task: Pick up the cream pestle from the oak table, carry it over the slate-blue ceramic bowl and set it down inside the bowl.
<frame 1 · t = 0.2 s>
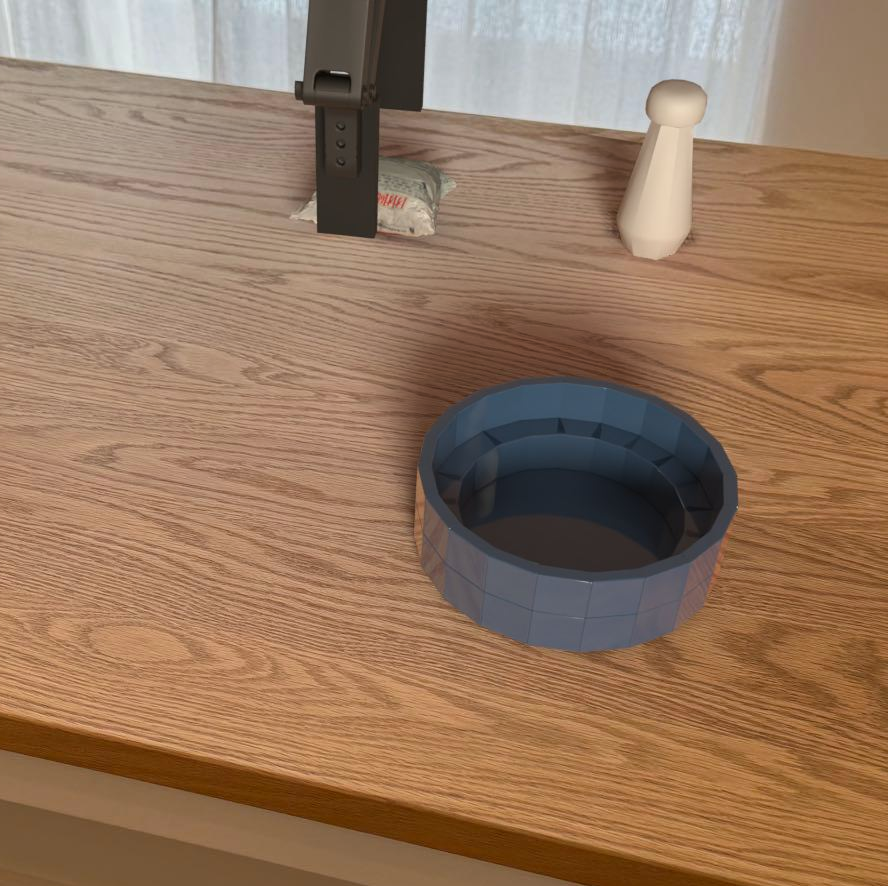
hand: (374, 165, 62), 22 cm above the table, tool pointing down, fingers open, 13 cm apart
bowl: (563, 546, 73), on the table
cream pestle: (648, 248, 99), on the table
packaged food: (374, 226, 101), on the table
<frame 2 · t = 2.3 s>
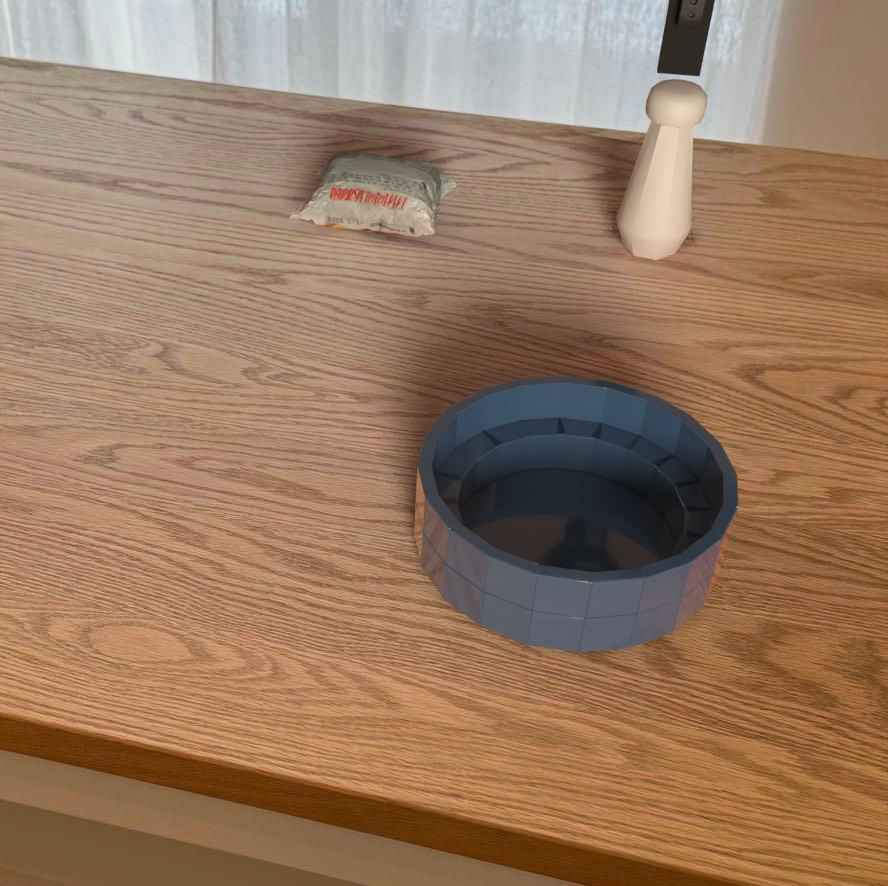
hand: (678, 32, 85), 18 cm above the table, tool pointing down, fingers open, 13 cm apart
nothing on the table moved.
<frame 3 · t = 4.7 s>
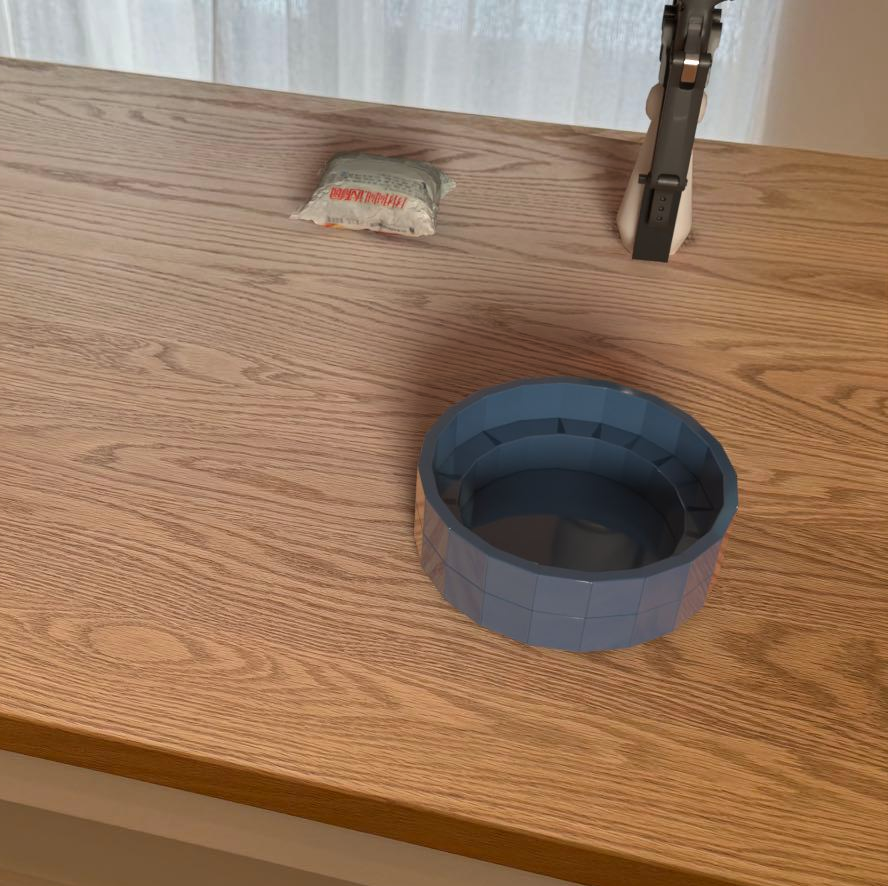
hand: (651, 236, 98), 1 cm above the table, tool pointing down, fingers closed on cream pestle, 6 cm apart
cream pestle: (648, 248, 99), on the table, touching gripper
everything else where it was.
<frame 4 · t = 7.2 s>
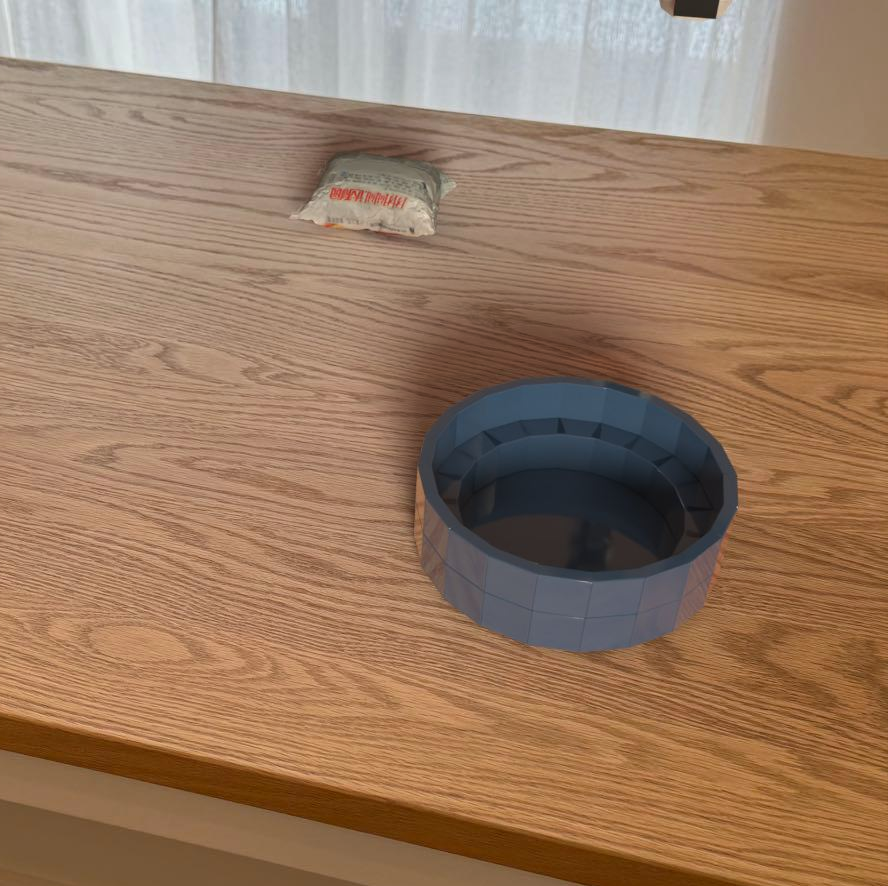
cream pestle: (692, 12, 83), point 19 cm above the table, touching gripper
everything else where it was.
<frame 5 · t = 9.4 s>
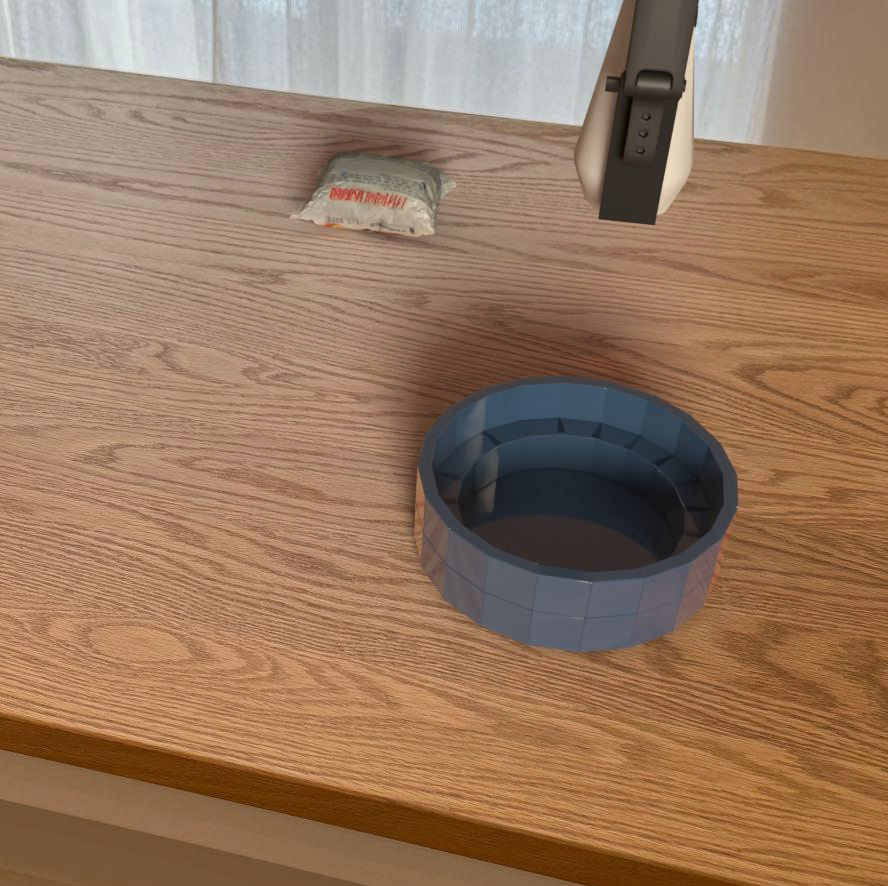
hand: (629, 186, 62), 21 cm above the table, tool pointing down, fingers closed on cream pestle, 6 cm apart
cream pestle: (625, 205, 63), point 20 cm above the table, touching gripper
everything else where it was.
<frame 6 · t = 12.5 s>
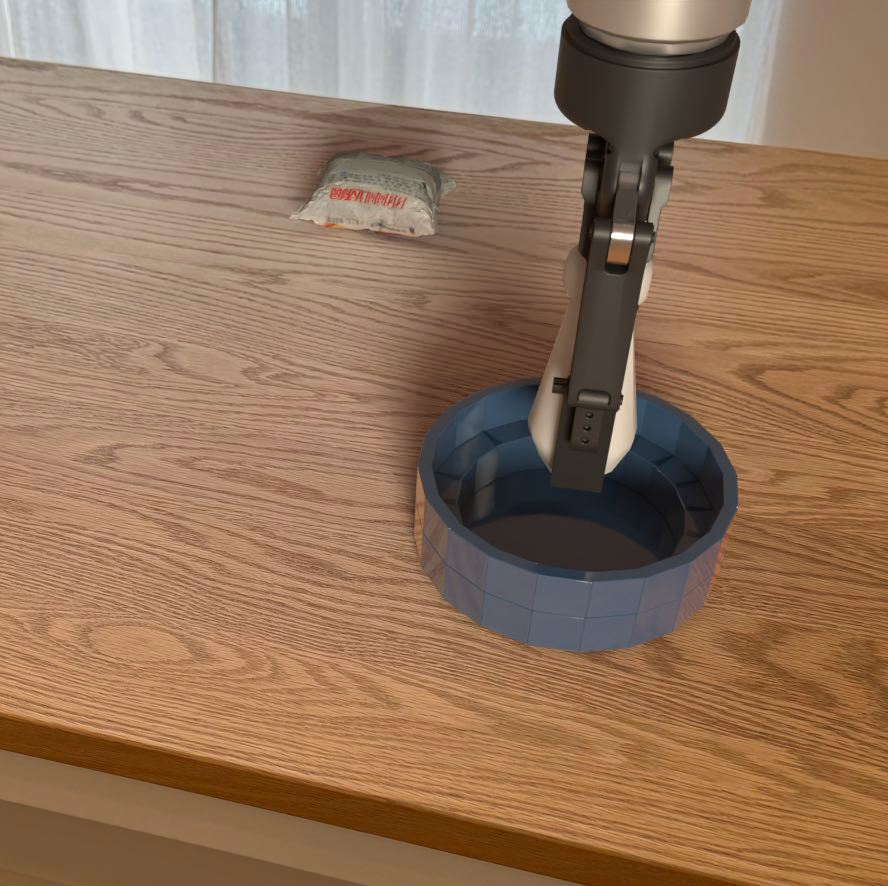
hand: (579, 446, 68), 8 cm above the table, tool pointing down, fingers closed on cream pestle, 6 cm apart
cream pestle: (576, 461, 69), point 7 cm above the table, touching gripper
everything else where it was.
when the fingers open (3 cm above the table, at t = 15.3 s): cream pestle stays where it is, resting on bowl.
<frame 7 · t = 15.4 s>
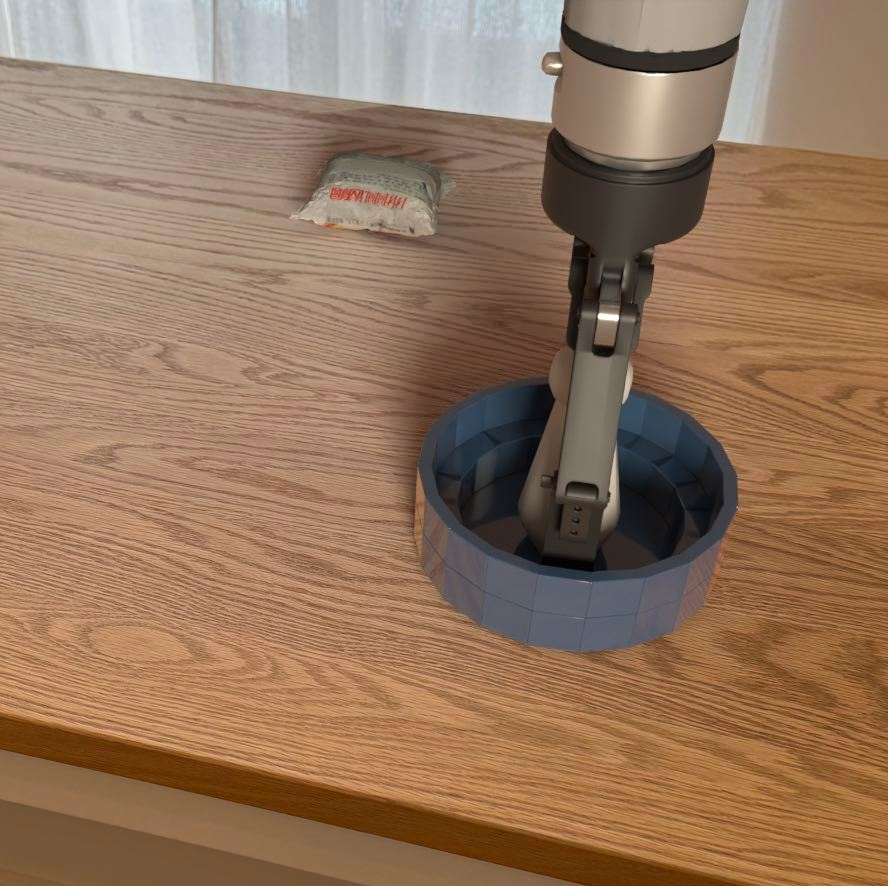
hand: (574, 494, 71), 4 cm above the table, tool pointing down, fingers open, 12 cm apart
cream pestle: (563, 541, 73), resting on bowl
everything else where it was.
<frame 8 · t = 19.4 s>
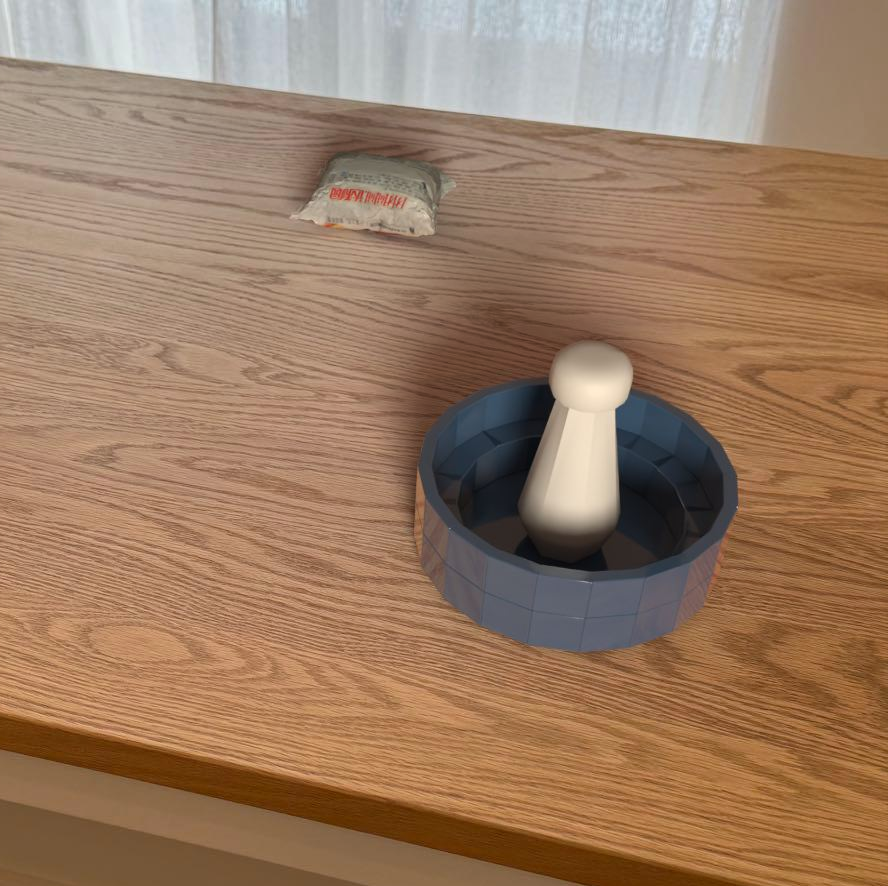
nothing on the table moved.
at the end: cream pestle inside the target area in the bowl (0.1 cm from its centre), point 0.4 cm above the bowl's base; the gripper is holding nothing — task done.
